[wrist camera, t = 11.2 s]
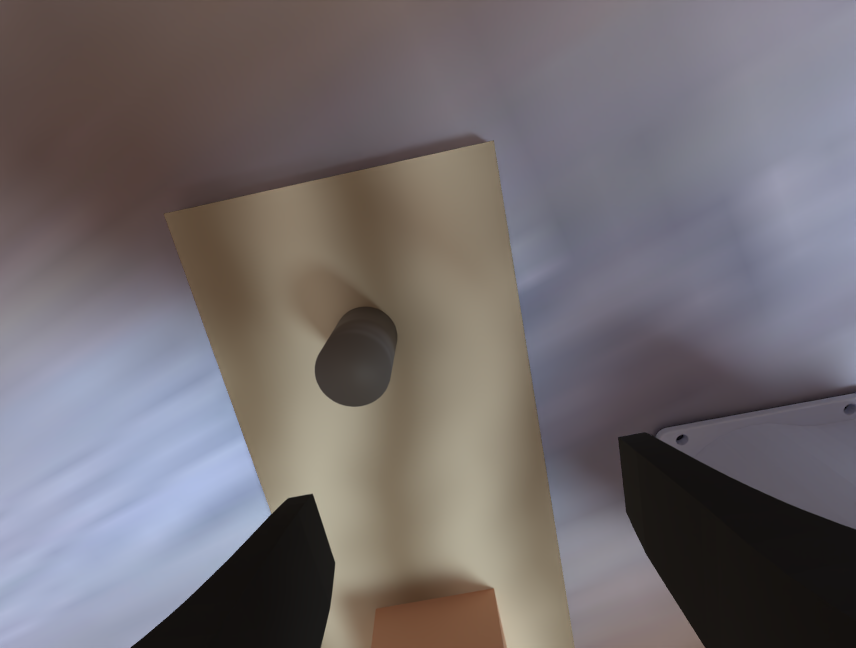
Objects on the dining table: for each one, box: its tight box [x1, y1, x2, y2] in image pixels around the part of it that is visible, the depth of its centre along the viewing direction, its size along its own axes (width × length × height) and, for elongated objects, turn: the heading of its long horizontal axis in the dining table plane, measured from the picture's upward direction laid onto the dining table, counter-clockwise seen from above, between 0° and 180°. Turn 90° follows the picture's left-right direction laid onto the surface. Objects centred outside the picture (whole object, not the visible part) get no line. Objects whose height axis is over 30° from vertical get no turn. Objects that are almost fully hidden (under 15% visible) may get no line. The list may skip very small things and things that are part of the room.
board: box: [164, 141, 575, 648], centre depth 20 cm, size 12×28×5 cm, turn 12°
